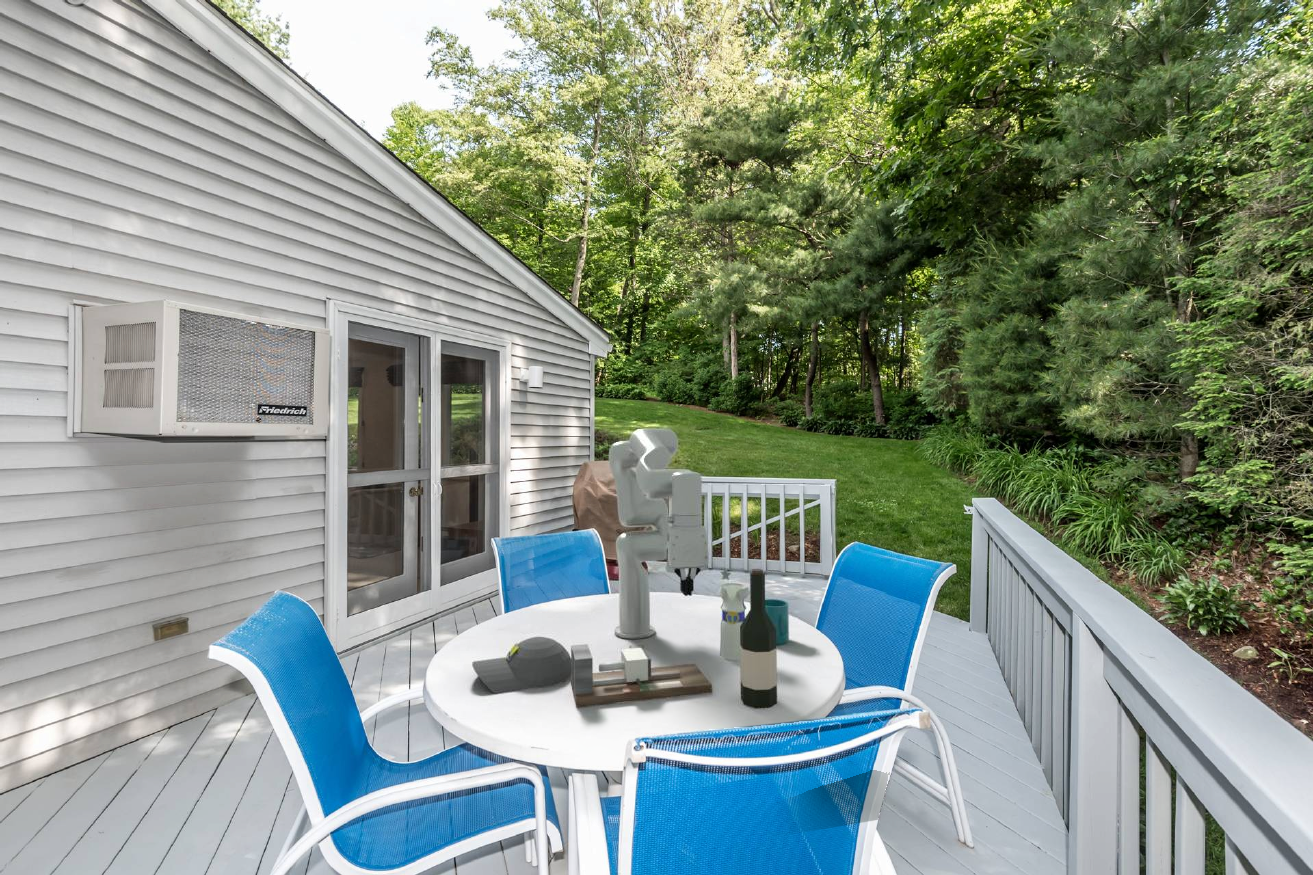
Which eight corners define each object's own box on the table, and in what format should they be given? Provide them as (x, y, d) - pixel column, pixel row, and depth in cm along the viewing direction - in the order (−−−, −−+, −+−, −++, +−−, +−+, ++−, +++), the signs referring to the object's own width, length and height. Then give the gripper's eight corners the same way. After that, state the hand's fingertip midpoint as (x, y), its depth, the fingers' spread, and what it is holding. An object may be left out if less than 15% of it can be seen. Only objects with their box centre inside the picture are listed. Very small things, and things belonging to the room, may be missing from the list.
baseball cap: (466, 664, 159) (478, 618, 160) (561, 675, 168) (571, 632, 169) (471, 691, 142) (484, 640, 143) (576, 703, 150) (588, 654, 152)
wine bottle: (779, 695, 141) (778, 567, 141) (774, 711, 133) (773, 574, 134) (744, 691, 144) (742, 565, 144) (737, 706, 136) (735, 572, 136)
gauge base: (570, 683, 150) (570, 642, 150) (694, 671, 157) (694, 632, 157) (576, 707, 136) (575, 662, 136) (711, 692, 143) (711, 650, 143)
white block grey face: (597, 671, 148) (597, 651, 148) (645, 667, 151) (644, 647, 151) (603, 688, 138) (602, 666, 138) (654, 683, 141) (654, 661, 141)
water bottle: (749, 662, 163) (748, 569, 163) (717, 660, 165) (716, 568, 165) (750, 651, 171) (750, 563, 171) (720, 649, 173) (719, 562, 173)
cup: (773, 650, 172) (772, 610, 172) (752, 637, 183) (752, 600, 184) (800, 646, 175) (800, 607, 175) (778, 634, 187) (778, 597, 187)
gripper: (661, 524, 146) (661, 600, 146) (720, 522, 149) (720, 596, 149) (654, 520, 153) (654, 592, 153) (710, 518, 156) (710, 588, 157)
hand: (686, 594), depth 151 cm, fingers closed
